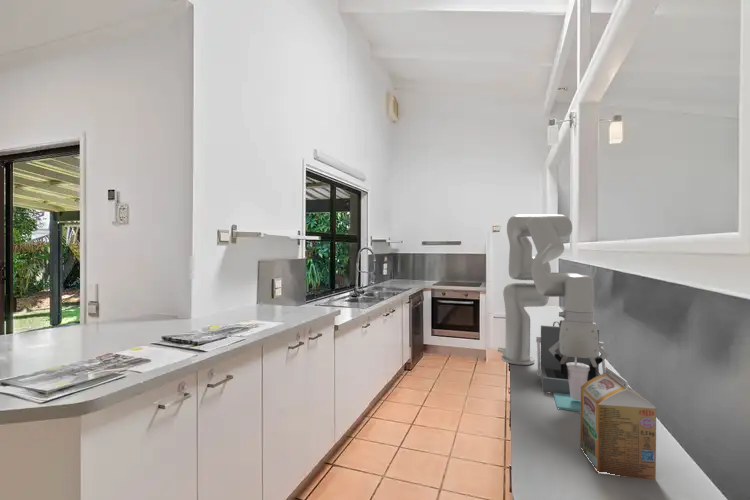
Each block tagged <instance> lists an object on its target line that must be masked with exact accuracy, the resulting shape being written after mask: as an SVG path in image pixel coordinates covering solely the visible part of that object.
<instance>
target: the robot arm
mask: <svg viewBox="0 0 750 500" xmlns="http://www.w3.org/2000/svg"><path fill="white" fill-rule="evenodd" d="M572 232H573V224H572V221H571V219H570V218H569V217H568V216H566V215H565V214H515V215H512V216H511V217H510V218H508V221H507V224H506V233H507V234H506V235H507V238H508V243H509V251H508V252H509V254H508V255H509V256H508V275H509V277H510V279H512V280H515V281H533V282H532V283H531V282H529V283H528V282H513V283H508V284H507V285H505V287H504V289H503V291H502V293H503V294H502V295H503V301H504V309H505V339H504V342H505V343H504V344H505V347H504V346H498V347H497V352H498V353H501V354H502V355H500V356H501V359H500V360H501V361H502V362H504V363H507V364H512V365H518V366H519V365H520V366H527V365H529V366H530V365H533V364H534V363H535V359H534V358H533V357H531V316H530V315H529V313H528V312H527V311H526V309H525V308H527V307H528V308H529V307H530V308H531V307H532V308H534V307H535V308H537V307H538V308H539V307H541V308H542V307H544V306H546V305H547V304H548V302H549V299H550V297H553V298H554V297H557V298H560V297H561V298H563V297H564V306H563V310H562V311H559V312H558V317H561V318H562V319H561V320H562V322H561V327H560V334H559V341H558V342H557V343H555V344H554V345H553V346H551V347H550V348H549V351H550V352H551V353H552V354H553V355H554V356H555V358H556V359H557V360H558V361H559V362H560V363H561V374H563V377H564V378H567V365H566V360H567V358H568V356H570V357H581V358H589V360H590V362H591V363H590V365H589V366H590V371H589V379H590V380H591V379H593V377H596V367H597V365H600V364H602V361H603V360H605V359H607V358H608V357H610V356H609V353H608V352H607V351H605V349H604V348H603V349H602V348H601V347H600V346H599V345H598V332H597V329H598V327H597V323H596V322H594V317H593V316H594V280H593V278H592V276H590V275H587V274H585V275H584V274H580V273H576V272H551V270H552V269H551V265H550V262H551V261H553V260H555V259H557V258H559V257H560V256H561V255H562V254H563V253H564V251H565V245H564V243H563V241H562V239H567V238H569V237H570V236H571V234H572ZM528 237H529V238H530V237H531V239H529V238H528ZM530 240H532V242H533V244H532V242H531V241H530ZM533 245H534V247H535V251H536V252H537V253H536V255H535V256H533ZM557 348H559V350H560V353H561V354H562V355H561V356H560V355H559V354H558V353H557V352H556V351H555V350H556V349H557ZM598 355H599V357H598ZM594 358H596V359H594Z"/></svg>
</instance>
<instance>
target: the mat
mask: <svg viewBox="0 0 750 500" xmlns="http://www.w3.org/2000/svg"><path fill="white" fill-rule="evenodd" d="M553 398H554V401H555V406H556V409H557V408H559V409H558V410H562V409H566V410H565V411H570V410H571V412H578V413H581V401H580V400H574V399H572V398H571V397H570V394H561V393H553Z"/></svg>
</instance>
